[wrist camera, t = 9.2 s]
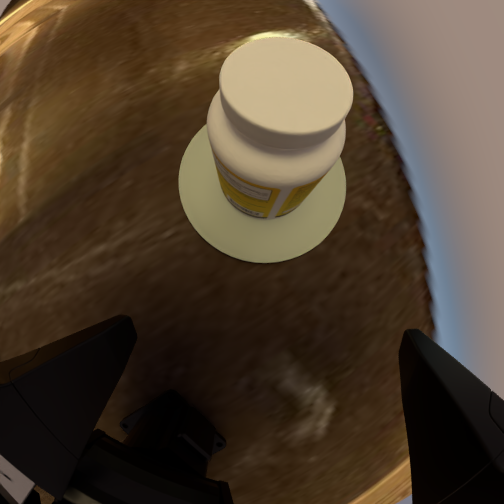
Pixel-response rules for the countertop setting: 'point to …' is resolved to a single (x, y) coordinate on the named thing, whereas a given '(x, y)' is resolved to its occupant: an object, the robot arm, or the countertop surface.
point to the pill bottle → (277, 123)
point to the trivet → (251, 229)
